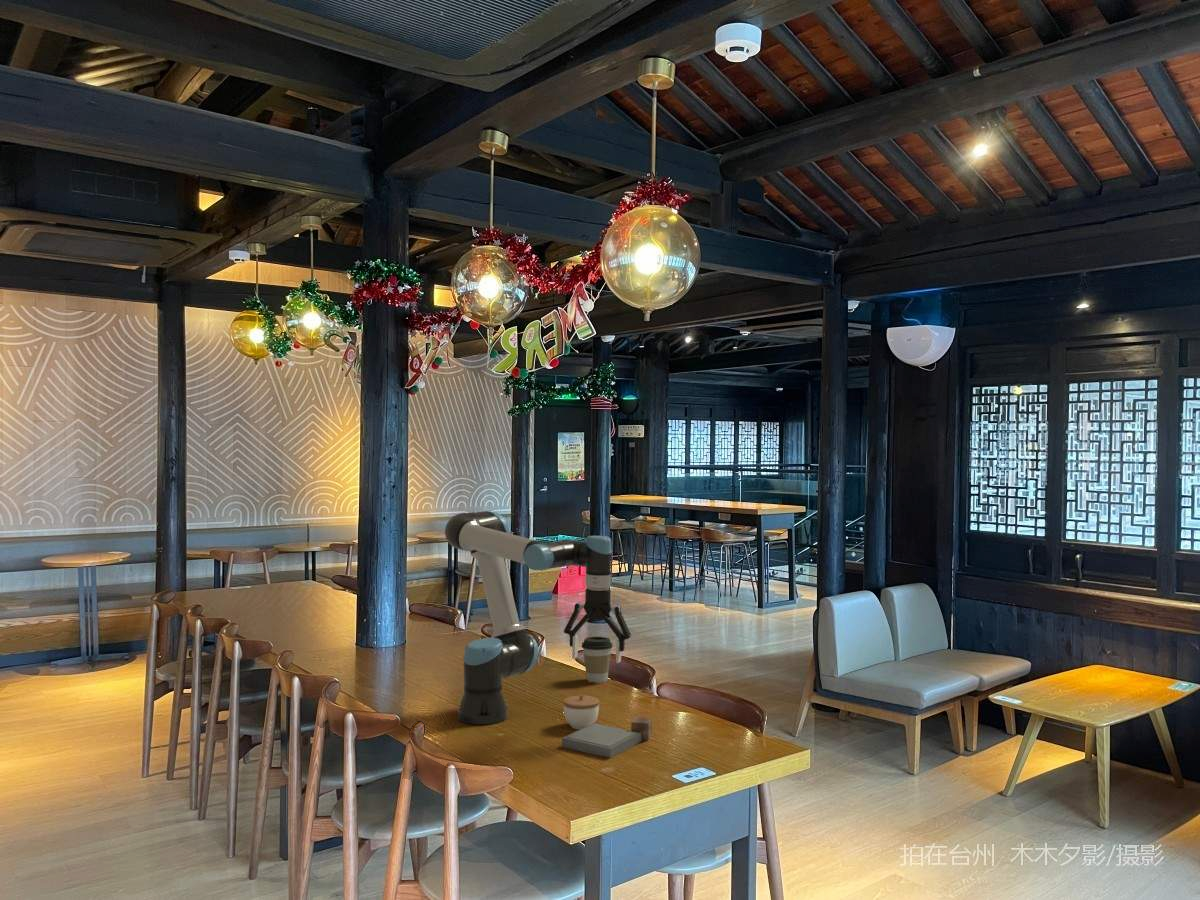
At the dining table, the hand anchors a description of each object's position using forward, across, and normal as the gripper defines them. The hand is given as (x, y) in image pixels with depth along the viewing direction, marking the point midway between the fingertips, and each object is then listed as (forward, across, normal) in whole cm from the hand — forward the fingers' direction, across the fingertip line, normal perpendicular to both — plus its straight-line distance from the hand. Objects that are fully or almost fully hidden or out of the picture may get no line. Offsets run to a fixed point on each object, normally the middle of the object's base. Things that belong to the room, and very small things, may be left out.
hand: (596, 659), depth 249 cm
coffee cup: (+21, -16, +51) cm, 58 cm away
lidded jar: (+20, -4, 0) cm, 21 cm away
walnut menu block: (+20, +15, -4) cm, 25 cm away
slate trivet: (+20, +6, -13) cm, 25 cm away
